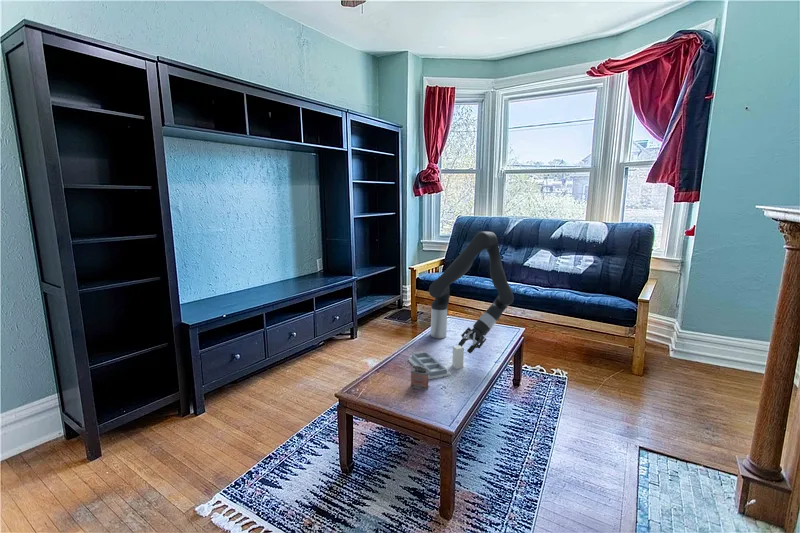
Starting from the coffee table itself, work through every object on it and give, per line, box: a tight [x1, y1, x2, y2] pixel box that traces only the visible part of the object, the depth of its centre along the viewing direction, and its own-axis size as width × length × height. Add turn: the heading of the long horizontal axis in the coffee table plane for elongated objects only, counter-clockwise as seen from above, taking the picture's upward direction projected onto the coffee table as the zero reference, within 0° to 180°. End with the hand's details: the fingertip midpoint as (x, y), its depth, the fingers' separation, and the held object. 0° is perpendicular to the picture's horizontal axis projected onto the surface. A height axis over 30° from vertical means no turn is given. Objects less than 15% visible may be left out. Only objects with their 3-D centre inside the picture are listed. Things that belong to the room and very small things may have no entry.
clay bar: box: [451, 345, 465, 369], centre depth 190 cm, size 4×4×10 cm
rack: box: [408, 351, 451, 380], centre depth 189 cm, size 22×12×3 cm, turn 22°
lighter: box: [410, 365, 430, 391], centre depth 169 cm, size 8×3×10 cm, turn 71°
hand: (463, 349), depth 190 cm, fingers open, 8 cm apart
